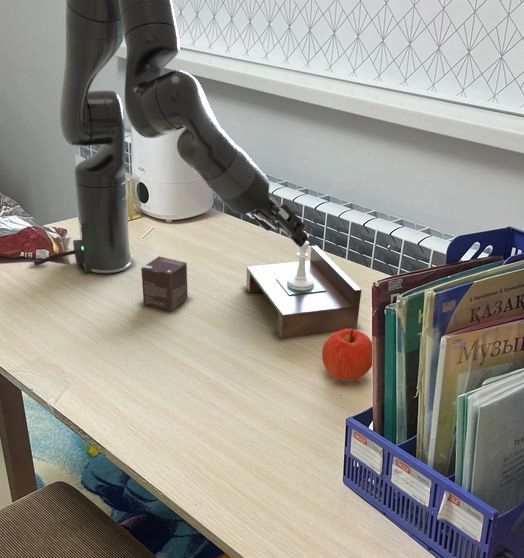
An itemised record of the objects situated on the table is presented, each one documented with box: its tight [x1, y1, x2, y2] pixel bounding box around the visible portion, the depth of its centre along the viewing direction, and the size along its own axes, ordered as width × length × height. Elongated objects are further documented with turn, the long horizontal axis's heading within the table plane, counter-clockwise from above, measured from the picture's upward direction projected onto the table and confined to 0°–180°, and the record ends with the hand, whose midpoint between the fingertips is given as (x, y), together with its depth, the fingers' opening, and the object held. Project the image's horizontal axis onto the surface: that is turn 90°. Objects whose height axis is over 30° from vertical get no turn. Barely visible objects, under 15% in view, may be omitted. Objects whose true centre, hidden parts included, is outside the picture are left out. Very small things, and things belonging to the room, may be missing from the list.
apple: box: [321, 329, 373, 381], centre depth 106 cm, size 8×8×8 cm
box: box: [140, 256, 189, 312], centre depth 124 cm, size 6×6×7 cm
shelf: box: [245, 245, 362, 339], centre depth 125 cm, size 14×20×8 cm
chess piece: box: [287, 230, 314, 290], centre depth 121 cm, size 5×5×10 cm
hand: (286, 233), depth 117 cm, fingers open, 8 cm apart
